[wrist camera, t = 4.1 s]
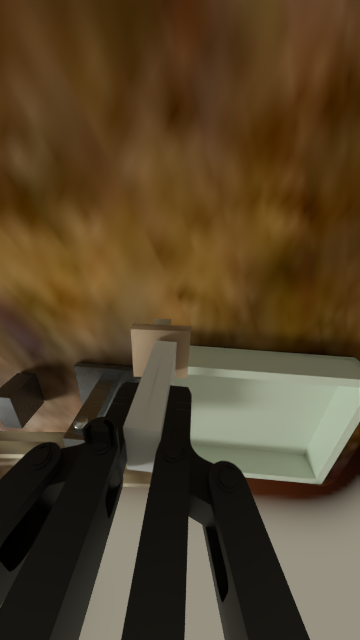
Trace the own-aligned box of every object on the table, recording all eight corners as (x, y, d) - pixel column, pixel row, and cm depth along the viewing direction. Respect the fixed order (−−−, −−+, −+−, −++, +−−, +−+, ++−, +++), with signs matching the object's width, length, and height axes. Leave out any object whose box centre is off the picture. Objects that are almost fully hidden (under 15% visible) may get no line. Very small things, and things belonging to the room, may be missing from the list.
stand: (32, 413, 31) (-29, 485, 22) (12, 357, 26) (-74, 419, 18) (147, 423, 30) (130, 500, 22) (146, 367, 26) (123, 437, 17)
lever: (-23, 455, 23) (-54, 491, 20) (-115, 305, 15) (-189, 324, 12) (178, 459, 23) (178, 494, 20) (189, 317, 16) (191, 339, 13)
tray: (151, 440, 32) (146, 467, 28) (149, 342, 24) (142, 362, 21) (306, 454, 31) (321, 484, 27) (354, 357, 23) (384, 381, 20)
